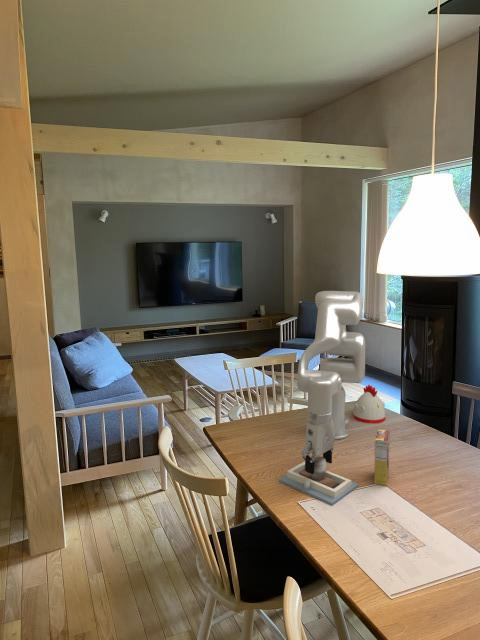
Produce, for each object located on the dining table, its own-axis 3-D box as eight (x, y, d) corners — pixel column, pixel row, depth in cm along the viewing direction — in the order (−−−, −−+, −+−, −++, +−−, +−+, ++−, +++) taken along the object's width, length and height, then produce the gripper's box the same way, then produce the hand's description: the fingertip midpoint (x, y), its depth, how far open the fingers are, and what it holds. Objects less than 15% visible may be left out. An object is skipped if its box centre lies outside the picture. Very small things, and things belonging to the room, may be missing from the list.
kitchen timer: (366, 425, 194) (368, 391, 192) (346, 415, 207) (347, 383, 204) (392, 420, 200) (393, 387, 198) (370, 410, 212) (372, 379, 210)
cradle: (306, 465, 160) (306, 456, 159) (358, 486, 145) (358, 476, 145) (279, 481, 149) (279, 471, 149) (332, 505, 135) (332, 495, 134)
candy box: (375, 471, 155) (377, 428, 153) (389, 473, 154) (390, 430, 151) (373, 484, 147) (374, 439, 144) (387, 486, 145) (389, 441, 143)
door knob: (339, 486, 144) (339, 464, 143) (330, 491, 141) (331, 469, 140) (307, 471, 154) (307, 450, 152) (298, 476, 151) (298, 455, 149)
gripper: (313, 427, 135) (312, 481, 138) (344, 411, 147) (343, 461, 150) (293, 420, 140) (292, 472, 143) (325, 406, 152) (324, 454, 155)
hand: (318, 467), depth 146 cm, fingers open, 9 cm apart
